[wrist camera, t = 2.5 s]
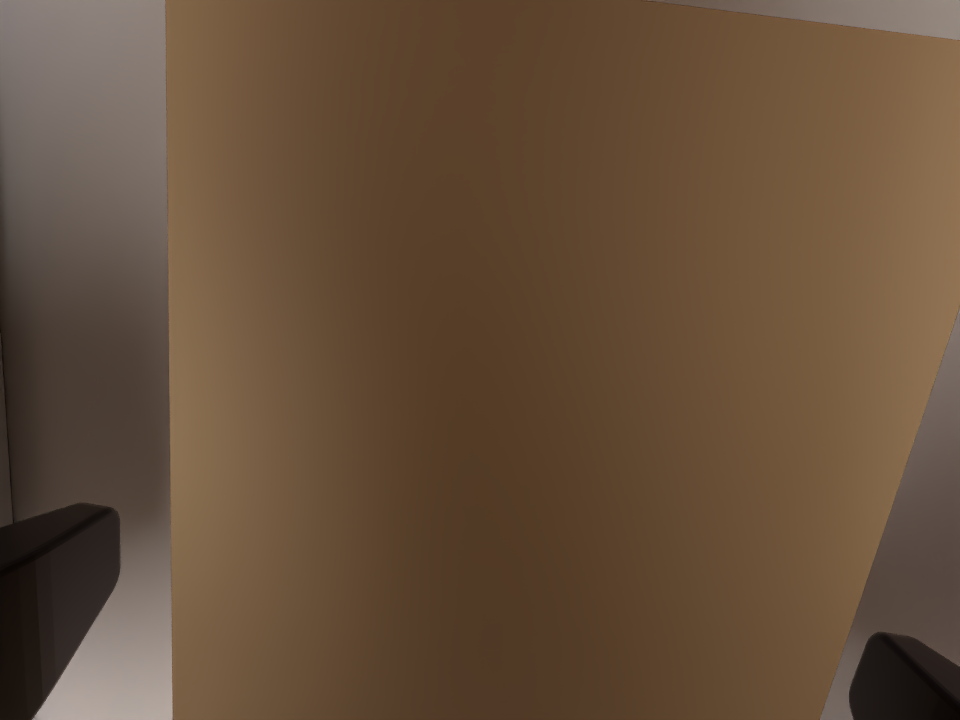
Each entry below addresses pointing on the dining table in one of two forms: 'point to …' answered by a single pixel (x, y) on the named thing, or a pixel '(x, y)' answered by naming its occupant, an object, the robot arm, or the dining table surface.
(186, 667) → the tan wooden block
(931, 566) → the dining table surface
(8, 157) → the dining table surface
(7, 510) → the peg stand
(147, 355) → the dining table surface
